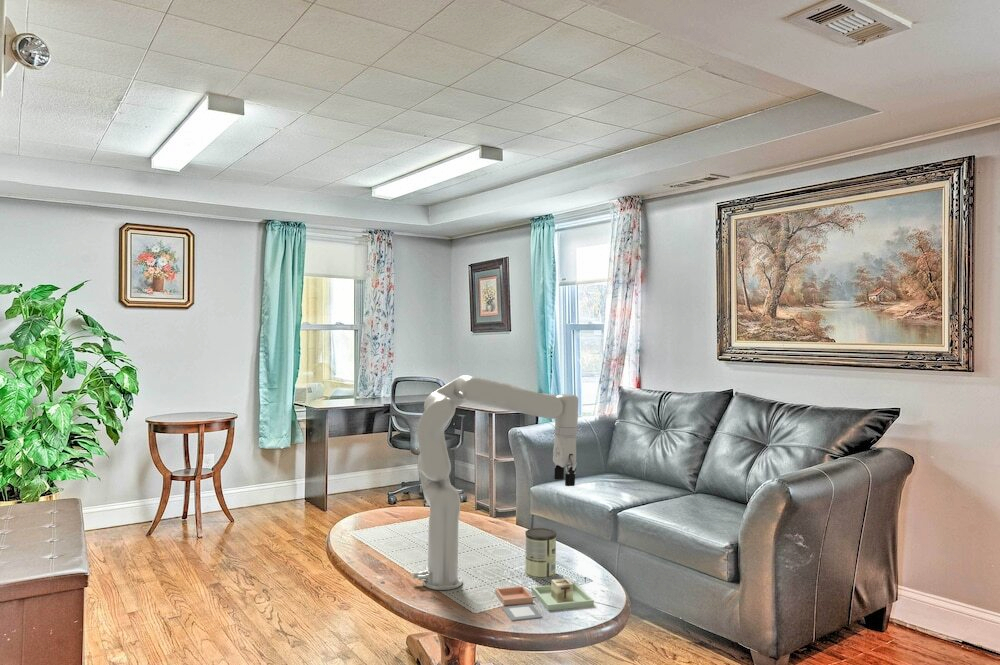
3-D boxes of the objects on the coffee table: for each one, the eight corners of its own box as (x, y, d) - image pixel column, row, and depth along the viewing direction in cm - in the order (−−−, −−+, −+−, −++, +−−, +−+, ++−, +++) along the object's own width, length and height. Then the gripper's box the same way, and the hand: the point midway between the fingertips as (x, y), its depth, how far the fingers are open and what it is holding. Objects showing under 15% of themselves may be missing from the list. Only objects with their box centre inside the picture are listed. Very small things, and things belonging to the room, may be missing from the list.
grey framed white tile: (511, 622, 194) (511, 619, 194) (502, 609, 202) (502, 607, 202) (542, 619, 196) (542, 616, 196) (531, 606, 205) (531, 604, 205)
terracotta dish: (503, 606, 205) (503, 600, 205) (495, 595, 213) (495, 588, 213) (532, 603, 207) (532, 597, 207) (523, 592, 216) (523, 586, 216)
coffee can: (525, 568, 237) (526, 527, 237) (555, 570, 236) (556, 528, 236) (523, 579, 227) (524, 536, 227) (555, 581, 226) (556, 537, 226)
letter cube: (557, 602, 207) (557, 585, 207) (551, 596, 212) (551, 579, 212) (572, 600, 209) (573, 584, 209) (566, 594, 214) (566, 578, 214)
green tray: (547, 612, 202) (547, 605, 201) (531, 593, 215) (531, 586, 215) (593, 607, 206) (593, 600, 206) (574, 589, 219) (574, 582, 219)
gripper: (546, 427, 241) (544, 477, 241) (565, 435, 224) (563, 488, 224) (566, 427, 243) (565, 476, 243) (586, 435, 226) (585, 488, 227)
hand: (564, 482), depth 234 cm, fingers open, 9 cm apart
